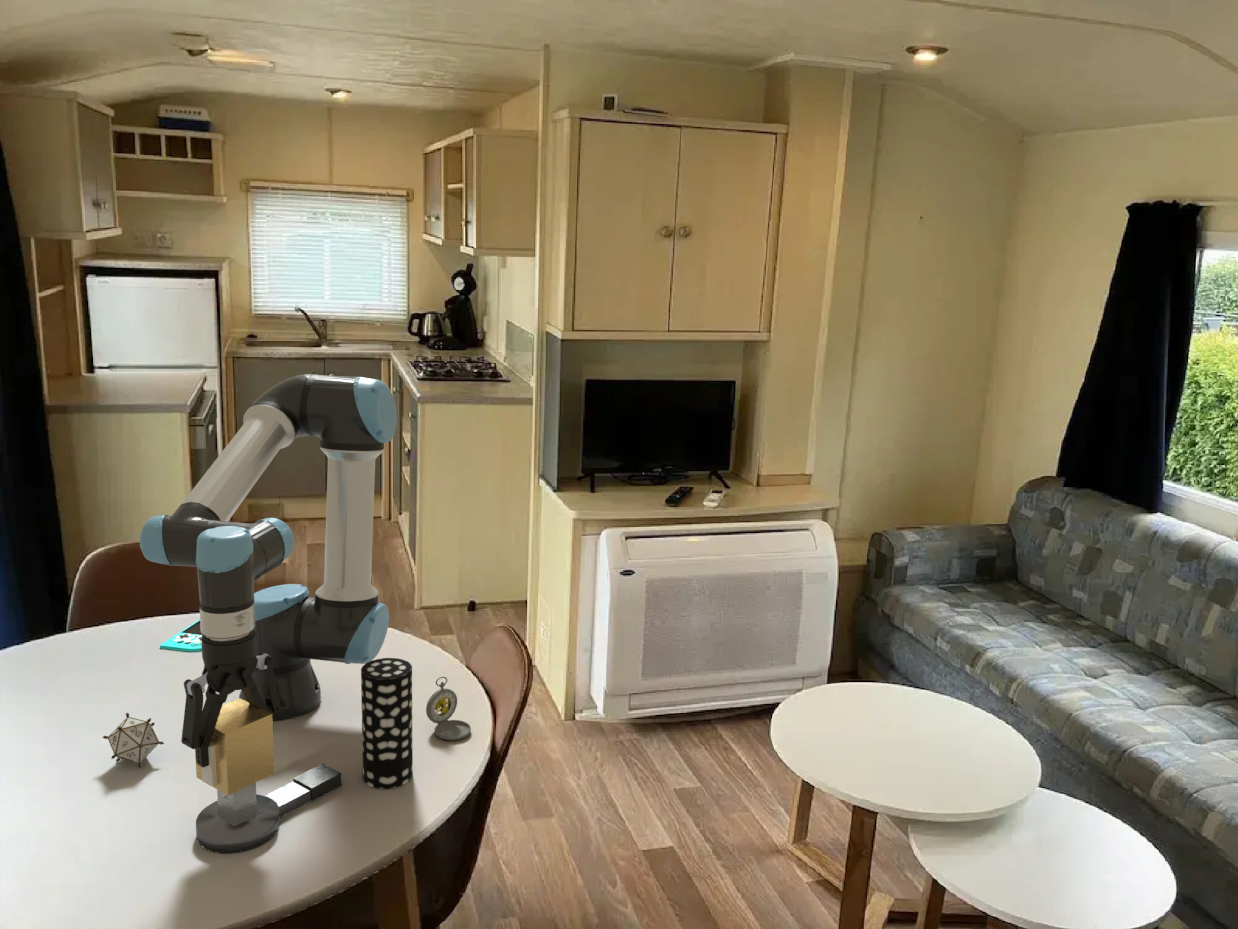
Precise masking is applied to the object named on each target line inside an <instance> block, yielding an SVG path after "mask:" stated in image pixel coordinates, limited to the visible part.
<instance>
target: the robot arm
mask: <svg viewBox="0 0 1238 929" xmlns="http://www.w3.org/2000/svg"><path fill="white" fill-rule="evenodd" d="M397 413H398V412H397V407H396V402H395V397H394V395H393V393H392V391H391V389H390V386H388V385H387V384H386V383H385V382H384V381H382V380H380V379H377V378H369V377H363V376H346V375H345V376H343V375H330V374H329V375H326V374H317V373H316V374H315V373H304V374H298V375H294V376H292V377H289V378H286V379H284V380H282V381H281V382H278V383H276V384H275V385H274V386H272V387H270V388H269V389H267V390H266V391H265V392H263V393H262V394H261V395H260V396H258V397H257V399H255V400H254V401H253V402H252V404H251V405H250V406H249V407H248V409H247V410H246V411H245V412H244V414H243V417H242V419H243V420H242V423H243V425H242V426H241V427H240V429H238V431H237V432H236V433H235V435H233V437H232V439H231V440H230V441H229V442H228V443H227V445H226V446H225V447H224V448H223V450H222V451H221V452H220V454H219V455H218V457H217V458H216V459H215V460H214V462H213V463H212V464H211V466H210V467H209V468H208V469H207V470H206V472H205V473H204V475H203V476H202V477H201V478H200V480H199V481H198V482H197V483H196V485H195V486H193V488H192V489H191V491H190V492H189V494H188V495H187V496H186V498H185V499H184V500H183V501H182V503H180V505H179V506H178V507H177V508H176V510H175V511H174V512H173V514H172V515H168V514H162V515H154V516H152V517H150V518H148V520H146V522H145V523H144V524H143V526H142V529H141V532H140V536H139V546H140V549H141V552H142V555H143V556H144V558H145V559H146V560H147V561H149V562H152V563H157V564H160V565H167V566H171V567H172V566H176V567H177V566H179V567H191V568H196V570H197V571H196V572H197V583H198V595H199V597H198V598H199V601H198V602H199V620H200V630H201V633H202V634H203V635H202V637H201V643H202V651H201V657H202V660H203V664H204V666H203V670H202V672H201V675H200V676H198V677H197V678H195V679H193V680H191V679H188V678H187V679H186V680H185V681H183V687H184V691H185V705H184V714H183V723H182V731H181V732H182V733H181V741H180V742H181V744H184V746H187V747H188V748H190V749H192V750H194V752H195V751H196V759H195V764H196V763H197V764H198V765H199V766H201V772H202V780H201V781H202V783H205V784H206V785H208V786H210V787H212V788H214V786H216V785H217V773H216V755H215V745H213V744H212V743H210V742H211V739H212V736H213V733H214V728H215V726H216V723H217V720H218V717H219V714H220V711H221V708H222V705H224V704H225V703H226V701H227V700H228V696H229V695H230V694H232V693H234V692H235V691H239V694H238V699H240V698H241V699H243V700H245V701H247V702H248V703H249V704H250V705H252V706H254V707H256V708H258V709H260V708H261V709H263V710H265V711H267V712H269V713H271V714H272V722H275V721H281V720H287V719H292V718H296V717H297V718H298V717H299V716H302V715H305V714H308V713H309V712H311V711H313V710H314V709H315V708H317V707H318V705H319V704H320V703H321V700H322V696H321V695H322V694H321V693H322V691H321V685H320V683H319V680H318V677H317V674H316V673H315V670H314V668H313V666H312V663H311V660H316V661H318V660H319V661H327V662H335V663H343V664H346V665H350V664H358V665H365V664H366V663H368V662H370V661H373V660H375V658H376V657H377V656H378V655H379V654H380V651H381V649H382V648H383V645H384V642H385V639H386V636H387V633H388V628H389V623H390V622H389V621H390V611H389V607H388V606H387V605H386V604H384V603H383V602H379V595H380V594H379V590H378V589H377V588H376V587H375V586H374V585H373V584H372V560H373V536H374V535H373V533H374V532H373V531H374V507H375V506H374V505H375V504H374V502H375V480H376V479H375V476H376V459H377V458H378V457H379V456H380V455H382V454H383V452H385V444H386V443H390V441H392V440H393V438H394V437H395V433H396V429H397V424H398V421H397V420H398V417H397ZM301 437H314V438H319V449H320V450H321V452H323V454H324V455H325V456H326V457H327V472H326V473H327V479H326V506H325V507H326V511H325V513H326V515H325V537H324V538H325V540H324V542H325V544H324V547H325V548H324V572H323V573H324V574H323V577H324V578H323V584H322V585H320V587H318V588H317V589H316V591H315V594H314V597H313V596H310V591H309V588H308V586H306V585H303V584H301V583H299V584H298V583H287V584H279V585H278V584H277V585H275V586H273V585H272V586H270V587H266V588H263V589H260V590H258V591H256V592H255V584H254V583H255V581H257V580H258V579H260V578H261V577H262V576H264V575H265V574H267V573H269V572H271V571H272V570H274V569H276V568H278V567H279V566H281V565H282V564H283V563H284V561H286V560H287V559H288V558H289V557H290V556H291V555H292V553H293V551H294V548H295V536H294V533H293V531H292V529H291V528H290V526H289V525H288V524H287V523H286V522H284V521H283V520H282V519H279V518H275V517H265V518H263V519H257V520H256V521H255V522H253V523H246V522H238V521H237V522H235V521H230V519H231V518H232V516H234V514H235V512H236V511H237V510H238V508H239V507H240V506H241V504H242V503H243V502H244V500H245V499H246V497H247V496H248V494H249V493H251V492H250V491H252V489H253V487H254V486H255V484H256V483H257V482H258V481H259V479H260V478H261V476H262V475H263V473H265V471H266V469H267V468H268V467H269V465H270V464H271V462H272V461H273V459H274V458H275V456H277V454H278V453H279V451H280V450H281V449H284V448H287V447H289V446H290V445H291V444H292V443H293V442H294V440H295V439H297V438H301ZM206 684H207V686H206ZM205 687H207V688H206V689H205ZM204 693H205V702H204Z"/></svg>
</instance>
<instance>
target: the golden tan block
mask: <svg viewBox="0 0 1238 929" xmlns="http://www.w3.org/2000/svg"><path fill="white" fill-rule="evenodd" d="M273 722H274V721H273ZM273 722H272V714H271V713H269V712H267V711H265V710H263V709H261V708H260V709H258V708H256V707H254V706H252V705H250V704H249V703H248V702H247V701H245V700H243V699H241V698H240V699H239V698H238V699H235V700H233V701H230V702H228V703H224V704H223V705H222V708H221V711H220V714H219V717H218V720H217V723H216V726H215V728H214V733H213V736H212V739H211V742H210V743H212V744H213V745H215V755H216V773H217V785H216V786H214V787H213V788H214V789H216V791H217V790H219V791H221V792H223V793H224V794H226V795H228V796H229V795H231V794H233V793H235V792H237V791H239V790H241V789H243V788H245V787H247V786H250V785H252V784H254V783H256V784H257V782H260V781H262V780H264V779H265V778H268V777H271V776H272V775H274V774H275V756H274V755H275V750H274V730H273V728H274V727H273ZM194 755H195V757H194V758H195V759H194V760H196V751H195V750H194ZM195 774H196V778H197V779H198V780H200V781H202V772H201V766H199V765H198V764H197V763H196V762H195Z"/></svg>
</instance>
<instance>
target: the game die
mask: <svg viewBox="0 0 1238 929" xmlns="http://www.w3.org/2000/svg"><path fill="white" fill-rule="evenodd" d="M125 717H126V718H125V719H124V720H123V721H122V722H121V723H120V724H118V726H117V727H116V728H115V729H114V730H113V731H112V732H111V733H110V734H109V735H103V736H102V739H105V740H106V739H107V740H108V742H109V746H110V747H111V750H112V751H113V754H112V755H111V758H110V759H111V760H113V759H115V758H116V760H115V762H116V763H119V762H120V761H121V760H123V761H127V762H131V763H135V764H137V767H138V768H139V769H140V768H142V762H143V761H144V760H145V758H147V756H148V755H149V754H151V753H152V752H153V750H154V749H156V748H157V746H158V745H164V744H165V742H164V741H160V740H159V738H158V737H157V734H156V732H155V730H154V728H153V727H154V726H155V723H156V722H151V721H152V718H147V720H143V719H138V718H135V717H134V718H133V717H132V716H131V717H130V713H129V712H126V713H125ZM150 722H151V723H150Z"/></svg>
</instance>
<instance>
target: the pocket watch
mask: <svg viewBox="0 0 1238 929" xmlns="http://www.w3.org/2000/svg"><path fill="white" fill-rule="evenodd" d="M440 679H445V682H444V681H441V682H440V683H438V682H439V680H440ZM447 682H448V678H447V677H446V676H440V677H438V678H437V679H436V681H435V685H436V686H437V687H439V688H440V689H438V690H436V691H435V692H434V693H433V694H432V695H431V696H430V697H429V699H428V701H427V704H426V707H425V708H426V709H425V711H426V712H425V714H426V716H427V718H428V719H429V721H431V723H433V724H437V725H435V727H434V734H435V735H436V736H437V737H438V738H439V739H442V740H447V741H456V740H461V739H464V738H466V737H467V736H469V735H470V733H471V730H472V727H471V724H469V723H468V722H467V721H464V720H458V719H451V720H449V719H450V718H451V717H452V716H453V714H455V712H456V709H457V705H458V696H457V694H456V692H455V691H454V690H452V689H450V688H446V687H445V686H446V684H447ZM444 687H445V688H444ZM439 712H440V713H439Z"/></svg>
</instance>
